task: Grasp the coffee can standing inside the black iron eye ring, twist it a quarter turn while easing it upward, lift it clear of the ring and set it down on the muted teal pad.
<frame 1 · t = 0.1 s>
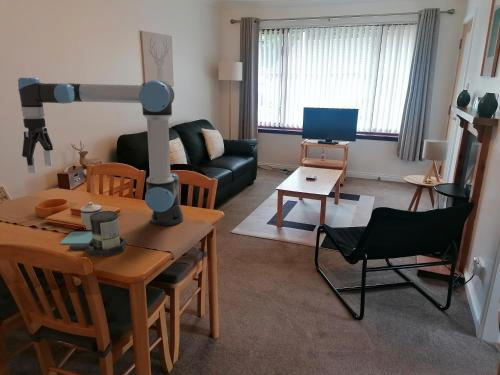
hand: (41, 169, 150), 28 cm above the table, fingers open, 13 cm apart
coffee can: (107, 248, 143), resting in eye ring
teal pad: (80, 238, 152), on the table
teacup with lid: (94, 226, 165), on the table
eye ring: (107, 248, 143), on the table
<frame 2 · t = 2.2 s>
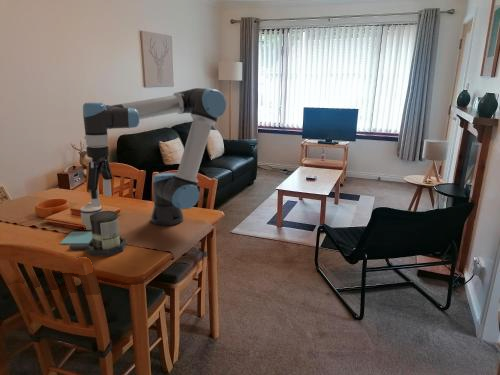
hand: (102, 200, 137), 20 cm above the table, fingers open, 13 cm apart
nothing on the table moved.
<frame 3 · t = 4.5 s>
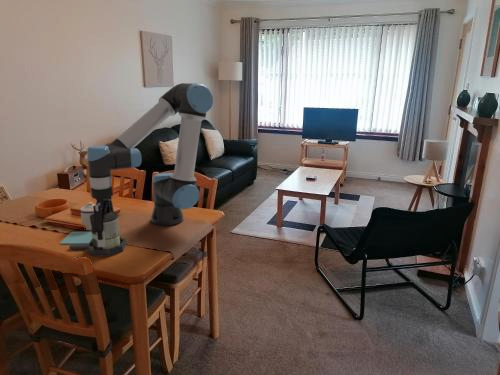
hand: (106, 240, 142), 3 cm above the table, fingers closed on coffee can, 10 cm apart
coffee can: (107, 248, 143), resting in eye ring, touching gripper
everything else where it was.
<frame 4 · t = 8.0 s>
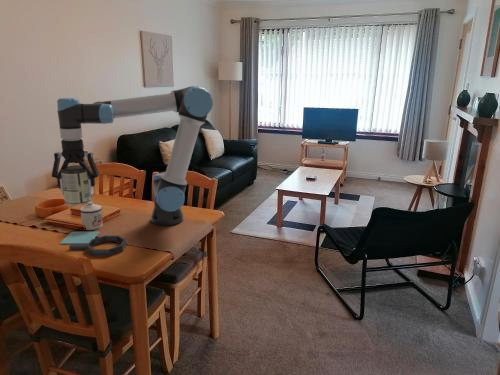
hand: (77, 194, 145), 20 cm above the table, fingers closed on coffee can, 10 cm apart
coffee can: (78, 202, 146), point 16 cm above the table, touching gripper
everything else where it was.
when the fingers open (5 cm above the table, at t = 11.4 s): coffee can drops 1 cm, resting on teal pad.
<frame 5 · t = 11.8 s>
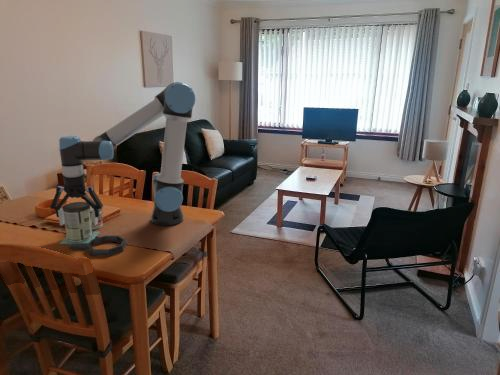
hand: (79, 224, 150), 6 cm above the table, fingers open, 13 cm apart
coffee can: (79, 237, 151), resting on teal pad
everything else where it was.
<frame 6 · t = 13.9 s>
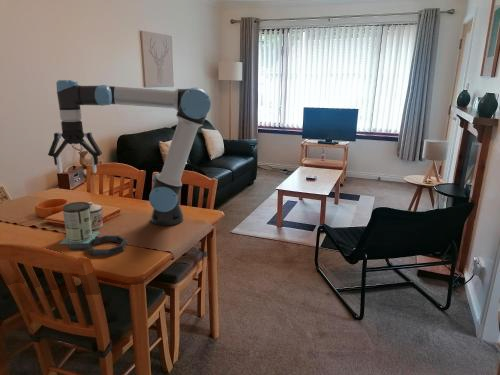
hand: (77, 172, 148), 27 cm above the table, fingers open, 13 cm apart
nothing on the table moved.
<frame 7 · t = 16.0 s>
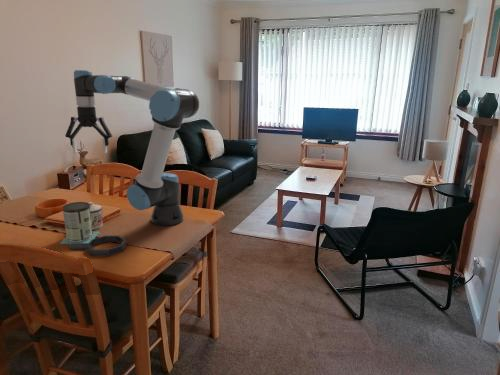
hand: (90, 152, 168), 32 cm above the table, fingers open, 13 cm apart
nothing on the table moved.
at the end: coffee can inside the target area on the teal pad (0.3 cm from its centre), point 0.2 cm above the teal pad's base; coffee can tilted 0°; the gripper is holding nothing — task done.
